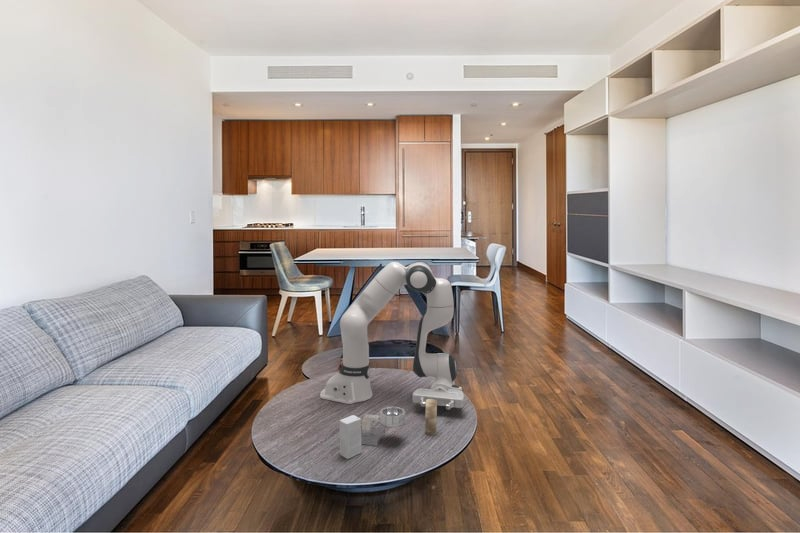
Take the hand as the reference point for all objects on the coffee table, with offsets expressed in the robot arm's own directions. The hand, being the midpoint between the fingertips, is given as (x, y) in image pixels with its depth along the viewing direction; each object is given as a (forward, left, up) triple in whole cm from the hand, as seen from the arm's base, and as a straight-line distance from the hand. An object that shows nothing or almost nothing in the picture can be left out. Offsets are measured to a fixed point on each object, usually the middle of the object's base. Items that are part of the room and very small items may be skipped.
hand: (435, 406), depth 175 cm
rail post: (0, -10, -6) cm, 11 cm away
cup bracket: (-17, -19, -6) cm, 26 cm away
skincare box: (-23, -30, -6) cm, 39 cm away
